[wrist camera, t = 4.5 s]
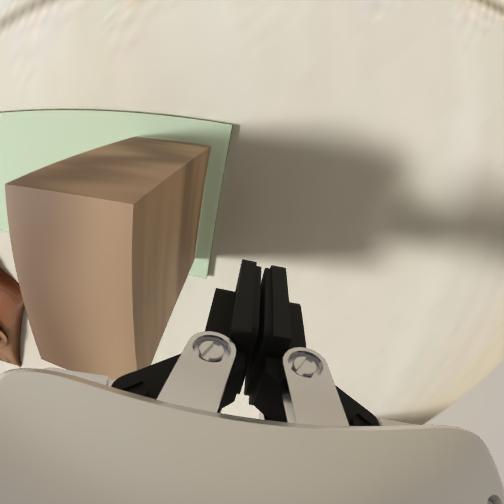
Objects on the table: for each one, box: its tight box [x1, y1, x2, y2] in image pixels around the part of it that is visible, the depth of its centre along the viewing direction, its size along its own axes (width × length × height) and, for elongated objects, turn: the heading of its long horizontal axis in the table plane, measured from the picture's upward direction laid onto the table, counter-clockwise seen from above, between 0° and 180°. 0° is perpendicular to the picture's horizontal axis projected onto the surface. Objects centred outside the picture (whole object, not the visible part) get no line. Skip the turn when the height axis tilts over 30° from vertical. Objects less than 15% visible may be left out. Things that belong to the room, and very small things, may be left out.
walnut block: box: [5, 136, 212, 380], centre depth 14 cm, size 5×8×12 cm, turn 169°
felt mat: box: [0, 110, 232, 279], centre depth 20 cm, size 22×11×1 cm, turn 79°
